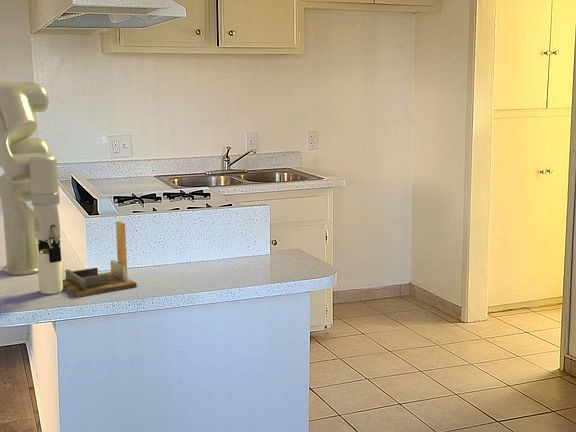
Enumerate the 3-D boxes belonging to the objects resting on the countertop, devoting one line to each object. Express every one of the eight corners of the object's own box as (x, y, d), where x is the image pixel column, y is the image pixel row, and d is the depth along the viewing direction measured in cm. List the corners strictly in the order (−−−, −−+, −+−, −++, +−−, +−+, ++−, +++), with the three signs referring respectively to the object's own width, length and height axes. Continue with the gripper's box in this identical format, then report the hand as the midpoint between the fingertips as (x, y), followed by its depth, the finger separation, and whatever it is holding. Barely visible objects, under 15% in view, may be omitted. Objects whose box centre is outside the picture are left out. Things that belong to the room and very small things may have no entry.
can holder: (65, 279, 232) (65, 269, 232) (93, 275, 237) (93, 265, 237) (83, 291, 220) (82, 281, 220) (112, 286, 225) (111, 276, 224)
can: (65, 288, 228) (63, 248, 226) (59, 294, 221) (57, 253, 219) (43, 288, 228) (40, 248, 225) (36, 295, 221) (34, 253, 219)
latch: (111, 273, 237) (108, 220, 234) (118, 272, 239) (116, 219, 236) (123, 281, 230) (120, 226, 226) (131, 279, 231) (128, 225, 228)
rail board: (58, 284, 232) (58, 280, 232) (115, 275, 242) (115, 271, 242) (76, 297, 219) (76, 293, 219) (136, 287, 229) (136, 283, 229)
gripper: (23, 197, 224) (27, 255, 227) (41, 204, 210) (46, 266, 213) (49, 195, 229) (53, 252, 231) (68, 201, 214) (73, 262, 217)
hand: (50, 258), depth 222 cm, fingers open, 9 cm apart
